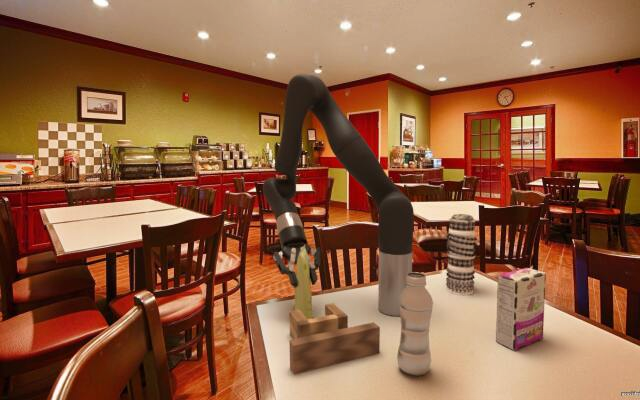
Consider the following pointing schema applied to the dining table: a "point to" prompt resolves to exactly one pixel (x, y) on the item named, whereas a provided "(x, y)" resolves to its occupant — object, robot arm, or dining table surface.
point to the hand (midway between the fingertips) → (305, 284)
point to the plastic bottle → (415, 325)
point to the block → (317, 322)
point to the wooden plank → (334, 347)
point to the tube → (303, 285)
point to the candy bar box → (520, 308)
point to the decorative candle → (461, 254)
